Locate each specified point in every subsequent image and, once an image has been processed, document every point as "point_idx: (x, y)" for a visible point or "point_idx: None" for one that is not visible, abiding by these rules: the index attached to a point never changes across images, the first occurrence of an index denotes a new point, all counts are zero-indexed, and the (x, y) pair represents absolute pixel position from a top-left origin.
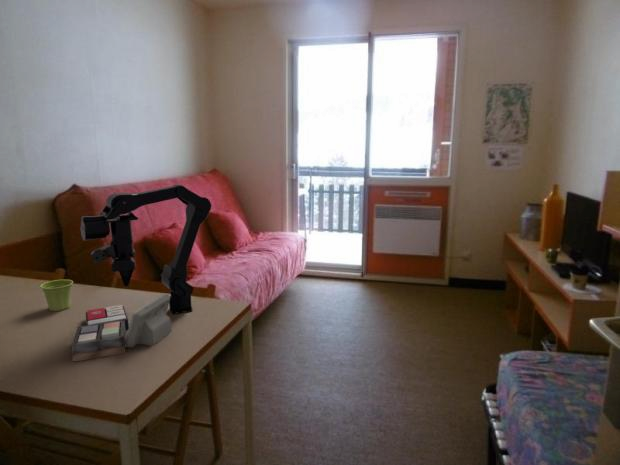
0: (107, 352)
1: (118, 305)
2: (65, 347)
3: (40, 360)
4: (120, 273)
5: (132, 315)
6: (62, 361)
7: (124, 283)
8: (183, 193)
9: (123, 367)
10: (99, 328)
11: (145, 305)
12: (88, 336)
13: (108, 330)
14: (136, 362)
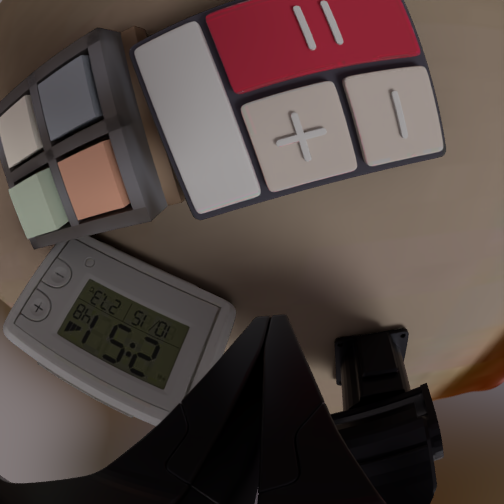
0: None
1: (437, 133)
2: (88, 23)
3: (34, 15)
4: (130, 454)
5: (7, 318)
6: (21, 78)
7: (242, 344)
8: None
9: (15, 240)
10: (72, 137)
11: (54, 367)
12: (17, 134)
13: (31, 200)
14: (32, 263)
